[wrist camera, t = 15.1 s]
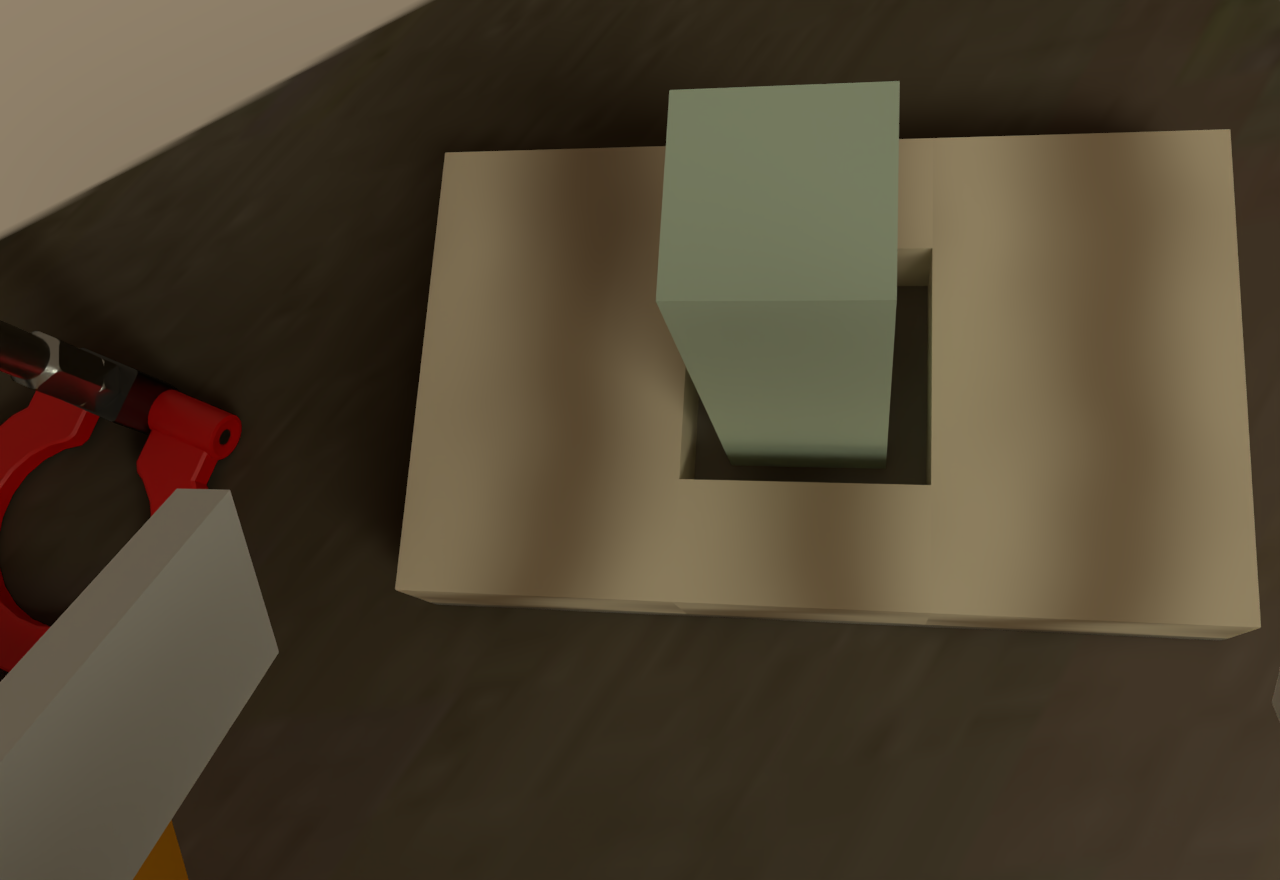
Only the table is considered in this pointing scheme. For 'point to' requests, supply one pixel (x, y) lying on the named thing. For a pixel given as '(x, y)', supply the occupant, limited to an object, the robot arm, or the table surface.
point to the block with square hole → (918, 419)
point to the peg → (785, 266)
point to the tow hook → (66, 417)
